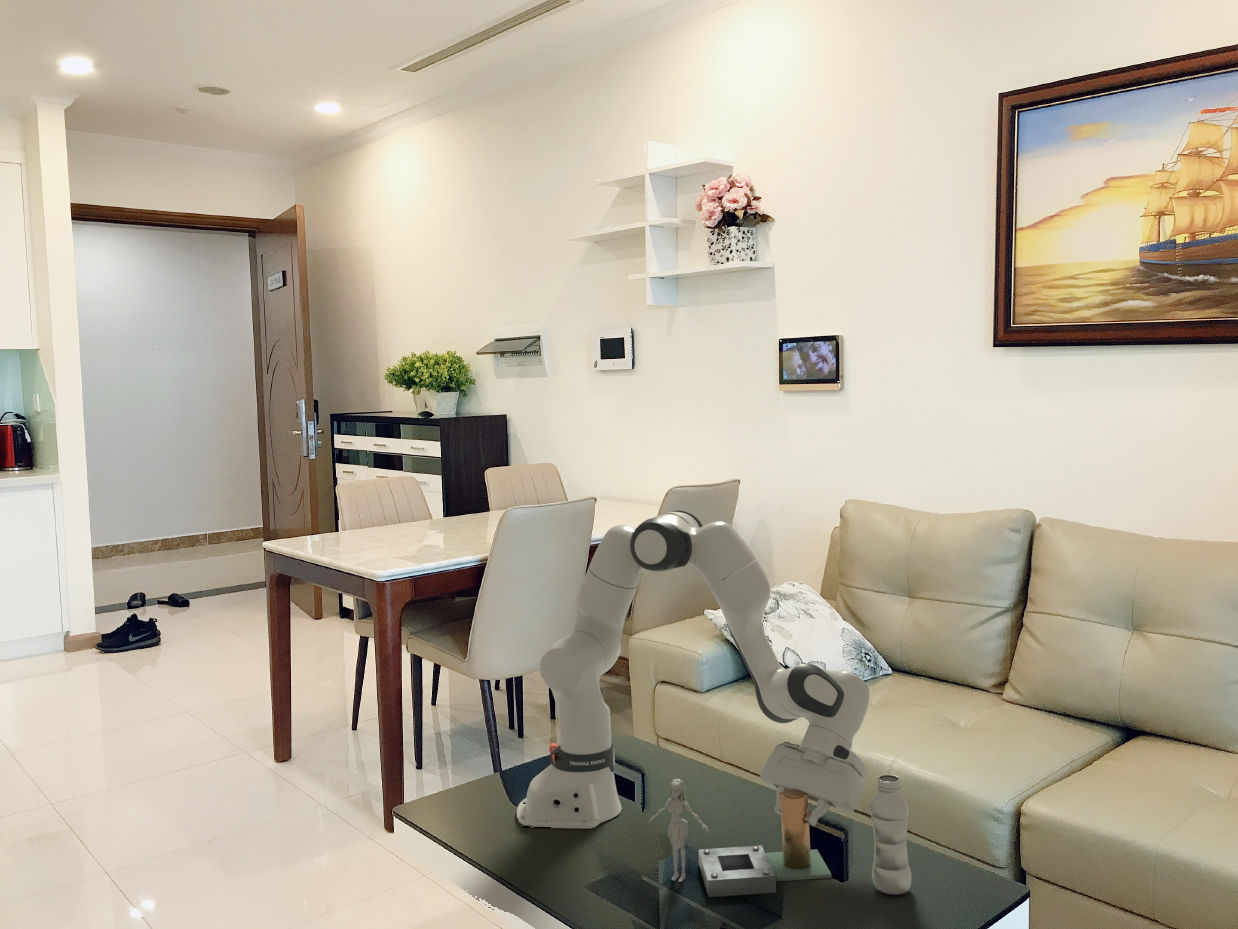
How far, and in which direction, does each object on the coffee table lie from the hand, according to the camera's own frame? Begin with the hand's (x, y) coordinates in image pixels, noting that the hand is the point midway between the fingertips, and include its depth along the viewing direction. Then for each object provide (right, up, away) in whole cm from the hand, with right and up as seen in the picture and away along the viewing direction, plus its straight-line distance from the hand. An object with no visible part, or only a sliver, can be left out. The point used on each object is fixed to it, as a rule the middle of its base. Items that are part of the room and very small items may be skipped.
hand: (793, 818), depth 178 cm
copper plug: (+1, -9, +1) cm, 9 cm away
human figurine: (-21, -10, -1) cm, 24 cm away
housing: (-11, -10, -3) cm, 15 cm away
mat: (+1, -9, +1) cm, 9 cm away
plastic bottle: (+15, -9, -9) cm, 20 cm away
